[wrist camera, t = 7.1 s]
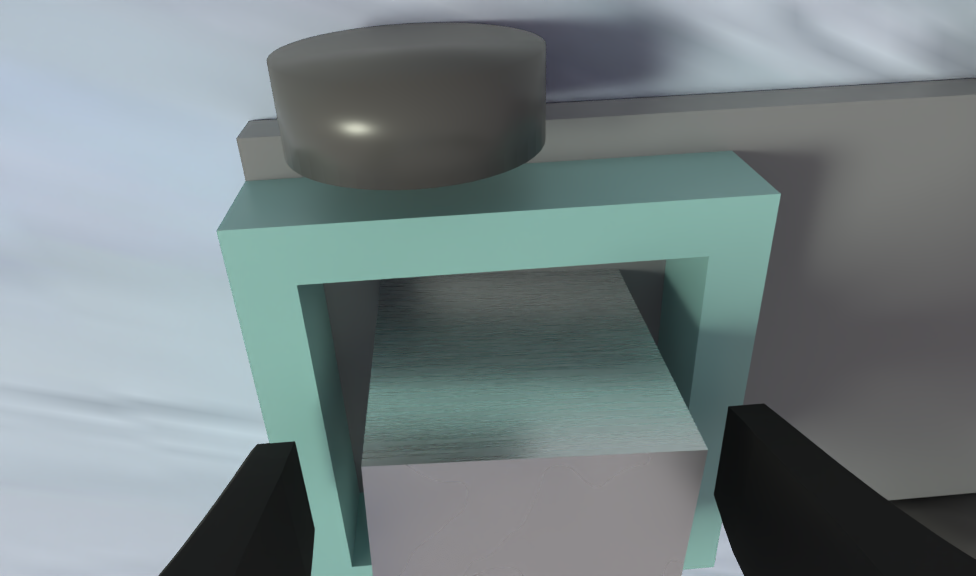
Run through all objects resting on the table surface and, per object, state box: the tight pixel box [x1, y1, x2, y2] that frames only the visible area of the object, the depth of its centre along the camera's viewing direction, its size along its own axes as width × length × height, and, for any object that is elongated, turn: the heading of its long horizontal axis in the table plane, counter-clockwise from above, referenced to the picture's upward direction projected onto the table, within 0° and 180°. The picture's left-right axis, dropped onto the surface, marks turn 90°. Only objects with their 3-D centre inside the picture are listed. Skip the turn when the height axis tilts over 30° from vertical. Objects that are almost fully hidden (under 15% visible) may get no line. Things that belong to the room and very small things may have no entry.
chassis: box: [217, 23, 976, 576], centre depth 14 cm, size 13×18×4 cm
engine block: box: [361, 269, 708, 576], centre depth 12 cm, size 4×4×5 cm
